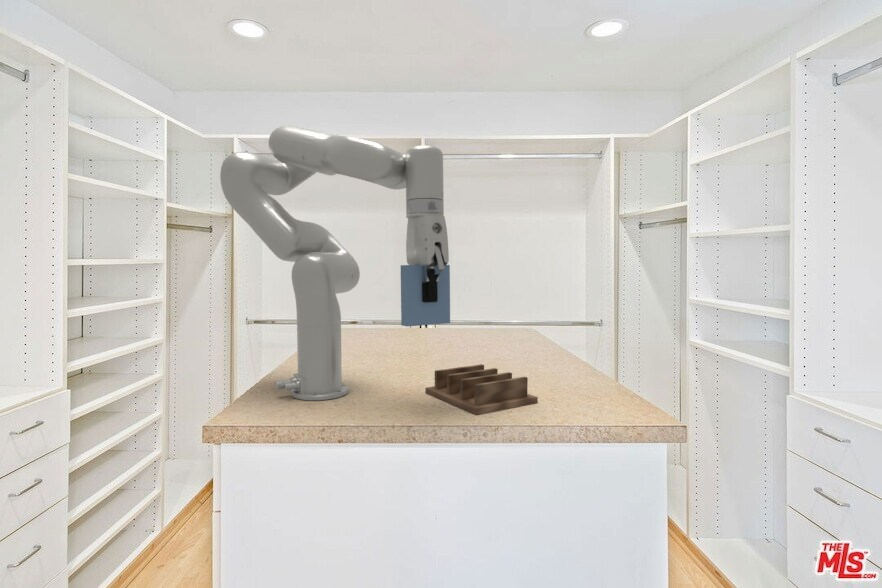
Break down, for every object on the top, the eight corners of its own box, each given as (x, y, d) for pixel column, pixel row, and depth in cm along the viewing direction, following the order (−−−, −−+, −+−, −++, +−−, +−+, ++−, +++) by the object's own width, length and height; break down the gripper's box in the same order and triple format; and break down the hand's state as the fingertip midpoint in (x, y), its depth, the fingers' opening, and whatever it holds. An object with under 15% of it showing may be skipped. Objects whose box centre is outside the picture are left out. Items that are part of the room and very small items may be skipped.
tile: (406, 326, 96) (405, 265, 96) (401, 325, 98) (400, 265, 98) (450, 323, 101) (449, 264, 101) (444, 322, 103) (443, 264, 103)
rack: (475, 414, 94) (475, 388, 94) (425, 393, 110) (425, 370, 110) (537, 402, 103) (537, 378, 102) (482, 383, 119) (482, 362, 118)
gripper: (462, 206, 94) (463, 303, 95) (422, 215, 108) (423, 299, 108) (428, 204, 90) (429, 305, 91) (391, 213, 104) (392, 300, 105)
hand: (426, 301), depth 100 cm, fingers closed on tile, 2 cm apart
